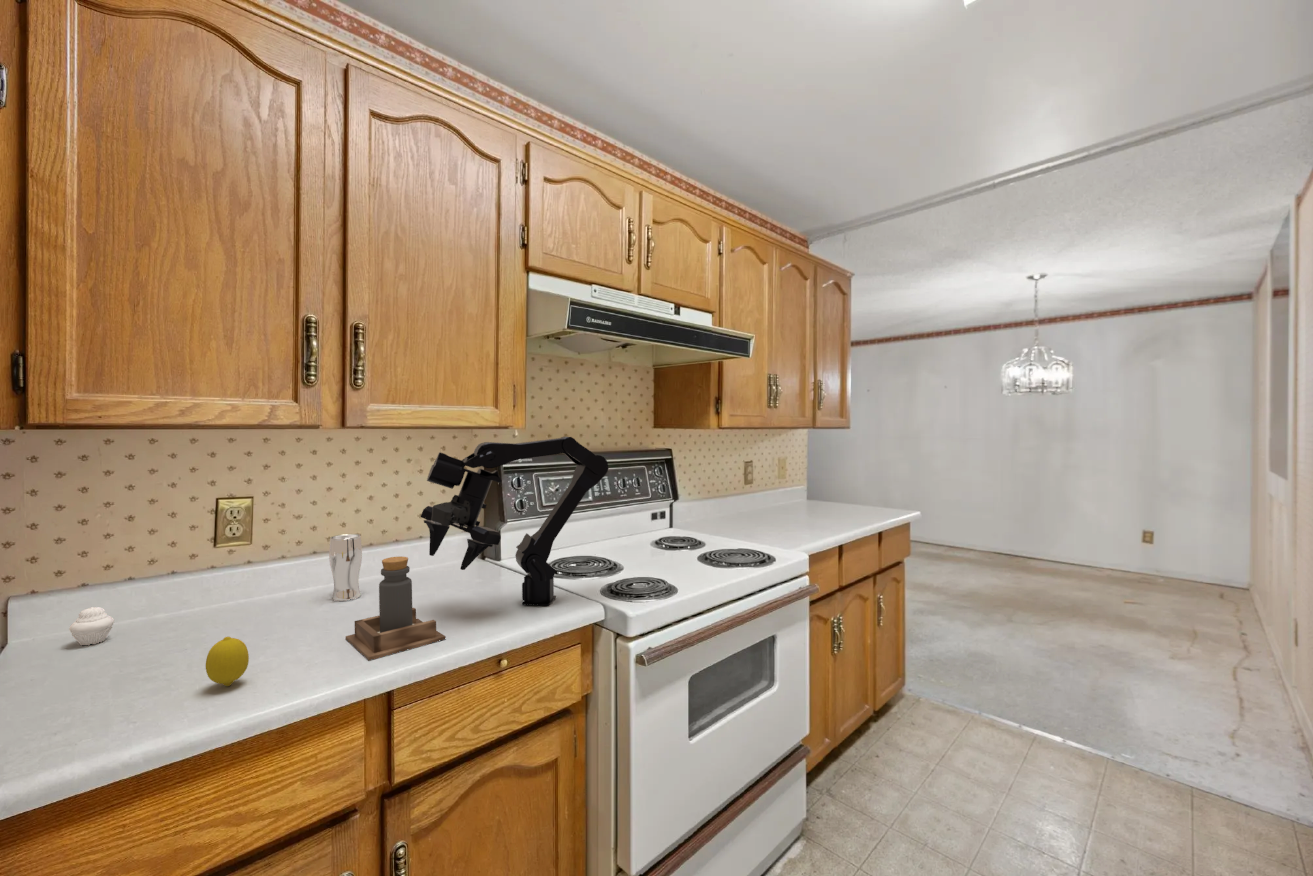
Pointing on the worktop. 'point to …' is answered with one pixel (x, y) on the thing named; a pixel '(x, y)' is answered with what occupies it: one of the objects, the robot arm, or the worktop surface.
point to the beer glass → (345, 565)
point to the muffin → (91, 626)
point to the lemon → (227, 661)
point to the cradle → (392, 636)
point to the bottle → (395, 594)
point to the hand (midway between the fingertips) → (446, 562)
